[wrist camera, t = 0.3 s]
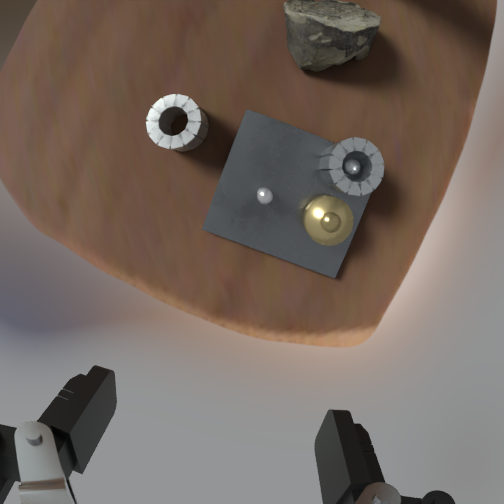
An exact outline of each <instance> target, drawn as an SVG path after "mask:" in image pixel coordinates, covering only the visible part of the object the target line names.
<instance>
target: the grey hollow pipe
mask: <svg viewBox="0 0 504 504" xmlns="http://www.w3.org/2000/svg"><path fill="white" fill-rule="evenodd" d="M377 150H378V148H377V147H375V146H374V145H373V144H372V143H371V142H370V141H366V139H361V138H356V137H353V138H352V137H351V138H349V139H346V140H343V141H340V142H337V143H335V144H332V145H330V146H329V147H327V148H326V150H325V151H324V152H323V154H322V155H321V156H322V157H321V158H320V165H319V169H323V170H321V171H320V174H321V176H322V178H323V181H324V182H326V183H325V184H327V185H328V186H329V187H331V188H332V189H333V190H335V191H338V192H342V193H345V194H350V195H356V196H360V195H361V196H363V195H365V194H368V193H370V192H372V191H373V189H374V190H375V189H376V188H377V186H378V185H379V184H380V182H381V181H382V179H381V178H380V177H382V178H383V174H384V165H382V163H384V161H383V158H382V156H381V153H380V151H377ZM347 154H349V155H351V156H352V157H353V158H354V159H355V160H357V161H358V162H359V164H360V170H359V172H358V173H356V174H355V175H354V177H353V178H352V179H350V180H349V179H348V178H347V177H346V176H345V174H344V172H343V170H342V163H343V159H344V158H345V156H346V155H347Z"/></svg>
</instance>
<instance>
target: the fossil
mask: <svg viewBox="0 0 504 504" xmlns="http://www.w3.org/2000/svg"><path fill="white" fill-rule="evenodd" d="M284 12H285V20H286V27H287V44H288V49H289V51H290V53H291V55H292V56H293V58H294V60H295V61H296V63H297V65H298V67H299V68H300V69H301V70H311V71H315V72H319V71H322V70H325V69H327V68H328V67H331V66H332V65H334V64H335V65H337V66H338V65H341V64H342V63H344V62H346V61H348V60H350V59H351V58H353V57H354V60H358V61H359V60H363V59H365V58H366V57H367V55H368V54H369V52H370V49H371V46H372V43H373V40H374V37H375V35H376V32H377V30H378V28H379V25H380V22H381V17H380V16H377V15H376V14H375V13H374V12H372V11H370V10H366V9H364V8H360V6H359V5H357V4H355V3H351V2H342V1H338V0H323V1H314V0H290V1H287V2H285V3H284Z"/></svg>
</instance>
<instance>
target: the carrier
mask: <svg viewBox="0 0 504 504" xmlns="http://www.w3.org/2000/svg"><path fill="white" fill-rule="evenodd" d="M332 144H335V143H332V142H330V141H328V140H326V139H323V138H321V137H319V136H316V135H314V134H311V133H309V132H306V131H304V130H302V129H299V128H297V127H294V126H291V125H289V124H286V123H284V122H281V121H278V120H276V119H273V118H270V117H268V116H265V115H262V114H259V113H257V112H254V111H251V110H248V109H247V110H246V112H245V115H244V117H243V120H242V122H241V125H240V127H239V130H238V132H237V135H236V138H235V140H234V143H233V145H232V148H231V151H230V153H229V156H228V159H227V161H226V164H225V167H224V169H223V172H222V175H221V177H220V180H219V183H218V186H217V188H216V191H215V194H214V197H213V199H212V202H211V205H210V208H209V211H208V214H207V216H206V219H205V222H204V225H203V228H202V230H205V231H208V232H211V233H213V234H216V235H219V236H221V237H224V238H227V239H229V240H232V241H235V242H238V243H240V244H243V245H246V246H248V247H251V248H254V249H257V250H259V251H262V252H265V253H267V254H270V255H273V256H275V257H278V258H281V259H284V260H286V261H289V262H292V263H294V264H297V265H300V266H302V267H305V268H308V269H310V270H313V271H316V272H318V273H321V274H324V275H327V276H329V277H332V278H335V277H336V275H337V273H338V270H339V268H340V266H341V264H342V261H343V259H344V257H345V255H346V252H347V250H348V248H349V245H350V243H351V241H352V238H353V236H354V234H355V231H356V229H357V226H358V224H359V222H360V219H361V217H362V214H363V212H364V209H365V207H366V204H367V202H368V199H369V197H370V194H371V192H370V193H368V194H365V195H363V196H361V195H360V196H356V195H350V194H345V193H342V192H338V191H335V190H333V189H332V188H331V187H329V186H328V185H327V184H325V183H326V182H324V181H323V178H322V176H321V174H320V171H321V170H323V169H319V165H320V158H321V157H322V156H321V155H322V154H323V152H324V151H325V150H326V148H327V147H329V146H330V145H332ZM342 170H343V172H344V174H345V176H346V177H347V178H348V179H349V180H350V179H352V178H353V177H354V175H355V174H356V173H358V172H359V170H360V164H359V162H358V161H357V160H355V159H354V158H353V157H352V156H351V155H349V154H347V155H346V156H345V158H344V159H343V163H342Z"/></svg>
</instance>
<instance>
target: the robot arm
mask: <svg viewBox="0 0 504 504" xmlns="http://www.w3.org/2000/svg"><path fill="white" fill-rule="evenodd" d="M116 403H117V398H116V386H115V373H114V371H113V370H109V369H106V368H102V367H99V366H96V365H95V366H93V367H92V369H91V370H90V371H89V372H88V374H87V375H86V376H85V375H83V374H79V375H77V376H75V377H73V378H72V379H70V380H69V381H68V382H67V383H66V385H65V386H64V387H63V390H61V391H60V392H59V394H58V396H57V397H55V399H54V400H53V401H52V402H51V404H50V405H49V406H48V408H47V409H46V410H45V411H44V413H43V414H42V416H41V417H40V418H39V419H38V420H37V422H36V421H31V422H25V423H23V424H21V425H20V426H19V427H18V428H15V427H10V426H5V425H1V424H0V504H3V503H4V501H5V499H6V497H7V495H8V493H9V491H10V490H11V488H12V486H13V484H14V482H15V481H18V482H21V485H19V487H18V489H19V496H20V501H21V504H78V503H77V500H76V497H75V494H74V492H73V488H72V485H71V483H70V479H69V476H70V475H71V473H72V471H76V472H78V473H81V474H83V472H84V470H85V468H86V466H87V464H88V462H89V460H90V458H91V456H92V454H93V453H94V451H95V449H96V447H97V445H98V443H99V441H100V439H101V437H102V436H103V434H104V432H105V430H106V428H107V426H108V424H109V422H110V420H111V418H112V417H113V415H114V412H115V409H116ZM315 456H316V462H317V467H318V474H319V481H320V487H321V493H322V500H323V504H455V502H454V500H453V498H452V497H451V496H450V495H449V494H447V493H445V492H443V491H431V492H429V493H427V494H426V495H425V496H424V497H423V498H422V499H421V498H413V497H405V496H401V495H400V494H399V492H398V491H397V489H396V488H394V487H393V486H391V485H389V484H387V483H385V480H384V477H383V474H382V472H381V468H380V465H379V463H378V460H377V457H376V454H375V453H374V448H373V445H371V440H370V437H369V434H368V432H367V431H366V430H365V429H364V428H363V427H362V425H361V424H354V422H353V419H352V416H351V413H350V412H349V411H348V410H328V412H327V414H326V416H325V419H324V421H323V423H322V425H321V427H320V430H319V432H318V434H317V436H316V440H315Z"/></svg>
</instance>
